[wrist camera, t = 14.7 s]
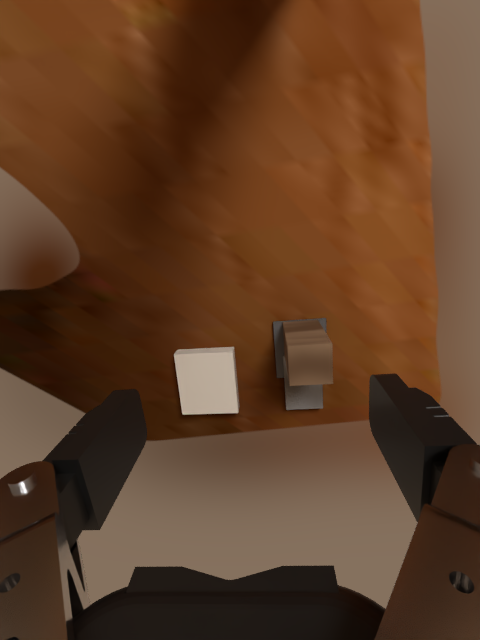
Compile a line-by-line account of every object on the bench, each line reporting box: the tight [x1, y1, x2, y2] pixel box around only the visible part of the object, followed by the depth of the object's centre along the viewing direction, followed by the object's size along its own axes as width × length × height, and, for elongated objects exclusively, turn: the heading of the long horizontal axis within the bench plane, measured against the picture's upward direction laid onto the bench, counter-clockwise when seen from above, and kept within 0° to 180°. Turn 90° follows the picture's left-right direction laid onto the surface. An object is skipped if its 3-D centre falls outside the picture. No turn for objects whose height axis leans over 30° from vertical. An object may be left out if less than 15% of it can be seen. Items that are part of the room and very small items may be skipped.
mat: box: [273, 318, 326, 378], centre depth 38 cm, size 7×6×1 cm
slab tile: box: [174, 347, 239, 415], centre depth 39 cm, size 2×7×8 cm
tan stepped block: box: [283, 320, 333, 410], centre depth 34 cm, size 11×4×8 cm, turn 5°
